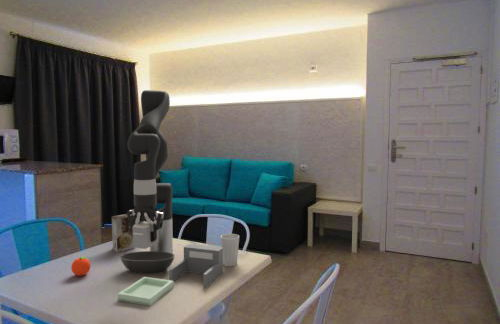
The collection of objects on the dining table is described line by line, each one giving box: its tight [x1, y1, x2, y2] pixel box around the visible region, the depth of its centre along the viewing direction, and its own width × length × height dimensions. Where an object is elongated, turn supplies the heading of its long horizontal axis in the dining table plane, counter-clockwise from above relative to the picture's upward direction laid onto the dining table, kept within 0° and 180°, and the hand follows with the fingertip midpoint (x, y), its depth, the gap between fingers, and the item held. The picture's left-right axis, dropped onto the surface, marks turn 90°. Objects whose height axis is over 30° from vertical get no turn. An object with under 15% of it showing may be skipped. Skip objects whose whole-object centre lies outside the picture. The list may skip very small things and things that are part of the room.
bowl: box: [119, 250, 175, 275], centre depth 152 cm, size 12×22×6 cm, turn 90°
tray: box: [117, 276, 175, 307], centre depth 131 cm, size 12×15×2 cm
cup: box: [220, 233, 240, 267], centre depth 160 cm, size 8×8×12 cm
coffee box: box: [111, 213, 135, 253], centre depth 180 cm, size 9×6×16 cm
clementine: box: [70, 256, 92, 277], centre depth 148 cm, size 8×7×7 cm
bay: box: [168, 243, 224, 288], centre depth 145 cm, size 15×16×10 cm
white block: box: [133, 221, 159, 250], centre depth 129 cm, size 5×9×8 cm, turn 162°
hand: (146, 240), depth 129 cm, fingers closed on white block, 5 cm apart
